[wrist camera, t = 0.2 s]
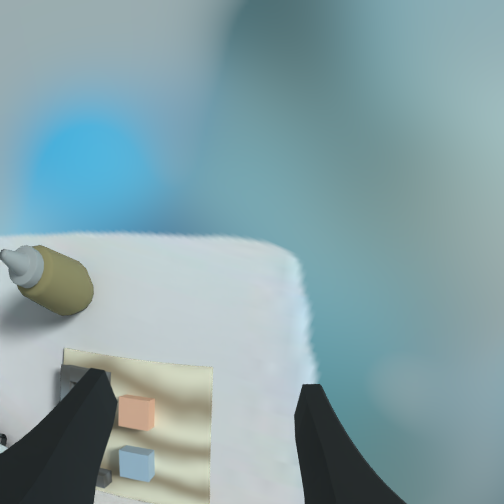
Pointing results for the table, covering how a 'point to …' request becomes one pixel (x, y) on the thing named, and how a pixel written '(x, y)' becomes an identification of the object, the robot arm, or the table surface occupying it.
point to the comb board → (155, 426)
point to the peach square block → (136, 412)
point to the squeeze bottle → (49, 278)
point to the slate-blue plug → (137, 463)
